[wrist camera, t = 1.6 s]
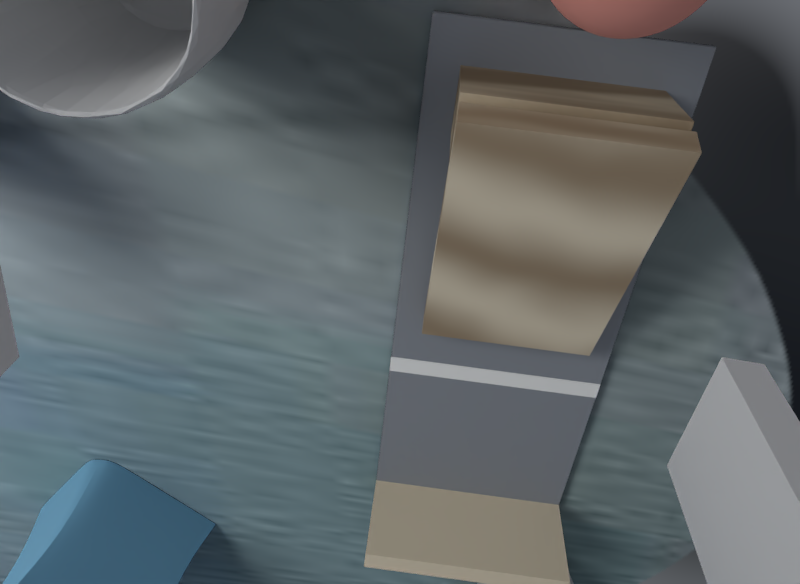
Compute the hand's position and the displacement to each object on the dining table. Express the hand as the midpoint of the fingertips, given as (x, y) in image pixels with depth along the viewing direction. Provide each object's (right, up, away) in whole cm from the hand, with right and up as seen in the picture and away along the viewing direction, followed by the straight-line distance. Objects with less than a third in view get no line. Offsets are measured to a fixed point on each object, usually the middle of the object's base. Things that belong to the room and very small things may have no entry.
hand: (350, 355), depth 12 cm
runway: (+7, 0, +24) cm, 25 cm away
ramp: (+7, +5, +21) cm, 23 cm away
